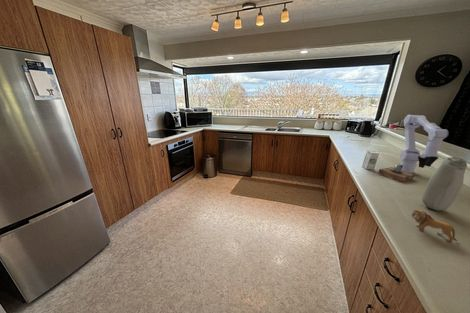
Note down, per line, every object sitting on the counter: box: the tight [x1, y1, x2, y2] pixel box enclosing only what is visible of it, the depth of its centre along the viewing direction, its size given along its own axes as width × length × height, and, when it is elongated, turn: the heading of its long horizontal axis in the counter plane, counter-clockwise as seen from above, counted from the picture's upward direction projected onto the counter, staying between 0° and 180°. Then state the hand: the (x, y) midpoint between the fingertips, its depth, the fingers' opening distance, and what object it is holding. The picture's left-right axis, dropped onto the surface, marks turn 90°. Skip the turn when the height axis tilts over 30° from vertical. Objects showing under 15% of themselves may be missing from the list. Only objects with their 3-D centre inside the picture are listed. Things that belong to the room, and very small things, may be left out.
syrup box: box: [361, 150, 380, 171], centre depth 135 cm, size 6×6×14 cm
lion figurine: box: [411, 208, 458, 243], centre depth 71 cm, size 15×5×9 cm, turn 52°
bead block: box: [377, 166, 415, 183], centre depth 124 cm, size 14×14×4 cm
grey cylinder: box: [393, 163, 403, 174], centre depth 123 cm, size 4×4×9 cm
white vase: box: [421, 156, 468, 211], centre depth 84 cm, size 10×10×28 cm
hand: (424, 166), depth 115 cm, fingers open, 7 cm apart
